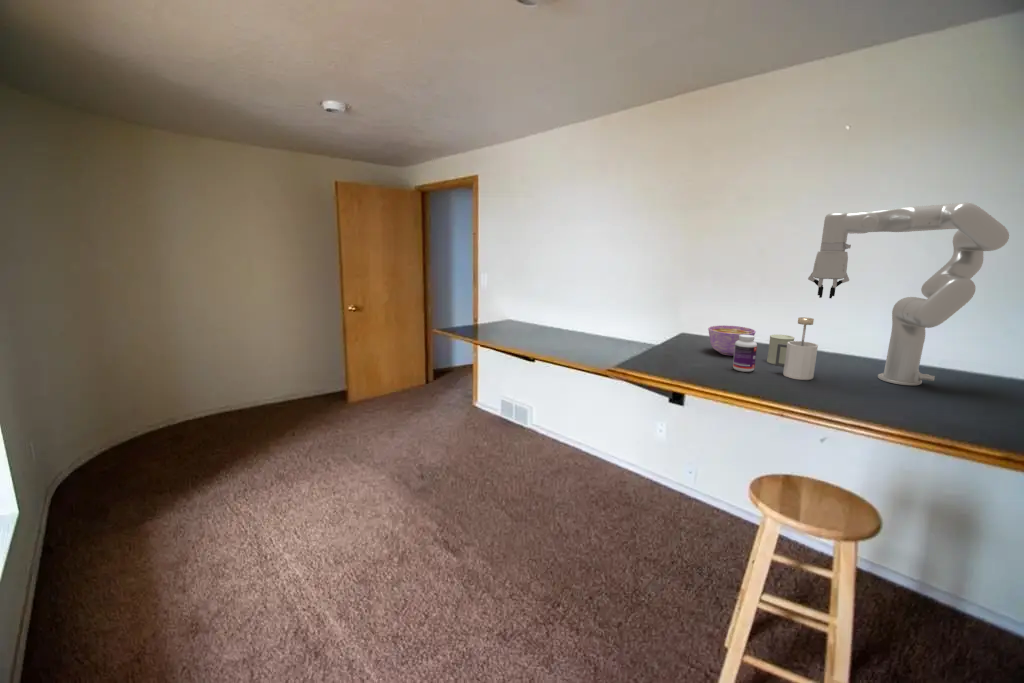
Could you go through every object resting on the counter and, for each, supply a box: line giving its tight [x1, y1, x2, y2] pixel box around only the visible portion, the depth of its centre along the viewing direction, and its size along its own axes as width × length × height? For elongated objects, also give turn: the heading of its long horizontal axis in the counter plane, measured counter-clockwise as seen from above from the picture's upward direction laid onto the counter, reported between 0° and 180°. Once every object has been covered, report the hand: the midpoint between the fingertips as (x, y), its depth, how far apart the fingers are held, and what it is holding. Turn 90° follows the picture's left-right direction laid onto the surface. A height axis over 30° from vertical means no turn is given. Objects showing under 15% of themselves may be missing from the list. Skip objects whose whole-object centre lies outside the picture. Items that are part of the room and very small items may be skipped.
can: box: [766, 334, 795, 365], centre depth 194 cm, size 9×9×12 cm
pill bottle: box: [732, 335, 758, 373], centre depth 183 cm, size 8×8×14 cm
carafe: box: [774, 340, 819, 381], centre depth 175 cm, size 13×10×13 cm
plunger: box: [797, 317, 815, 346], centre depth 172 cm, size 7×7×14 cm
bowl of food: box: [707, 325, 757, 357], centre depth 209 cm, size 20×20×12 cm
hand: (825, 297), depth 168 cm, fingers open, 2 cm apart
